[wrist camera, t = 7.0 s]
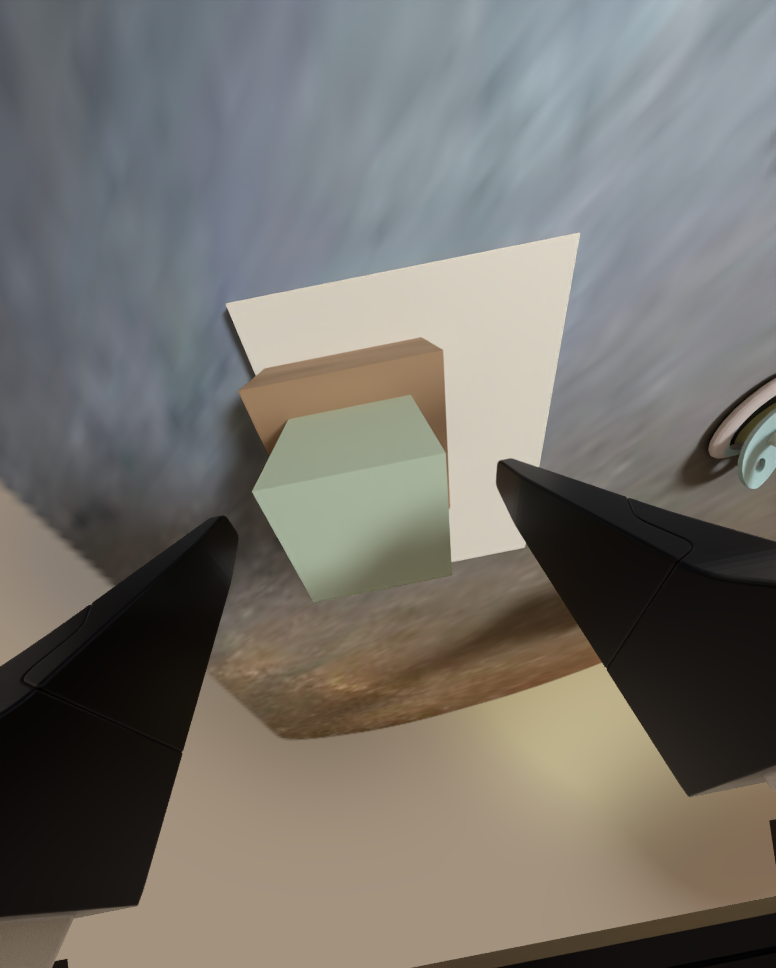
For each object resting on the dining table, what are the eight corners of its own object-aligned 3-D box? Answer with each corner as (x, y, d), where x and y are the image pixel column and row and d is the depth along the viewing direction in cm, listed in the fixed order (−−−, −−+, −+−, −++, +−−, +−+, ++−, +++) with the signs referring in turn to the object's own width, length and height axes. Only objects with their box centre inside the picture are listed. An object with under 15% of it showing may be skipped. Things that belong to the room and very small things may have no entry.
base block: (432, 470, 16) (450, 508, 13) (314, 493, 16) (306, 536, 13) (421, 337, 12) (443, 350, 9) (264, 368, 12) (238, 391, 9)
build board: (521, 541, 21) (524, 547, 21) (343, 576, 22) (343, 583, 21) (570, 235, 11) (580, 232, 11) (230, 303, 11) (225, 303, 11)
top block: (422, 493, 13) (451, 575, 9) (324, 512, 13) (313, 602, 9) (410, 394, 10) (445, 452, 6) (288, 419, 10) (251, 491, 6)
